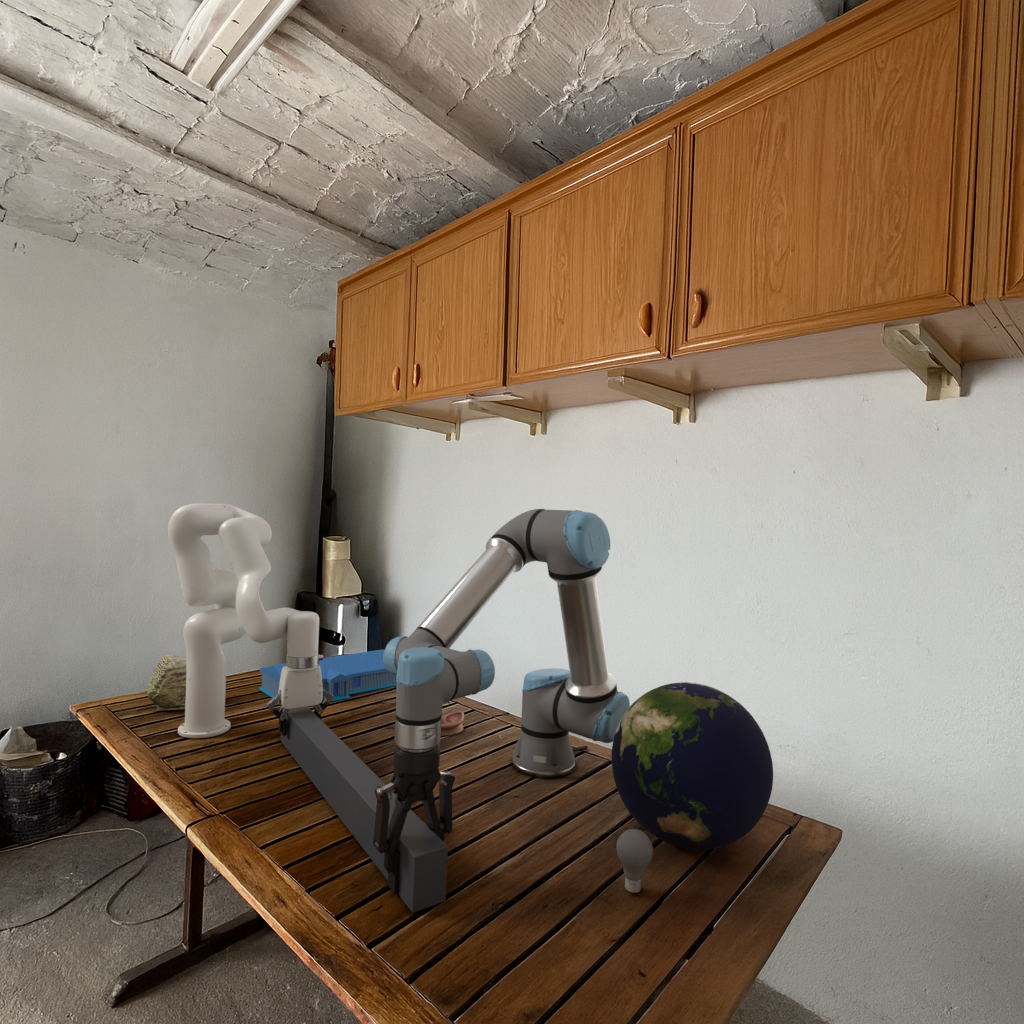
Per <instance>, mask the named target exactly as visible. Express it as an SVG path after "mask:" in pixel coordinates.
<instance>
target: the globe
mask: <svg viewBox="0 0 1024 1024" xmlns="http://www.w3.org/2000/svg"><path fill="white" fill-rule="evenodd" d="M611 745H612V746H611V757H610V758H611V771H612V776H613V780H614V784H615V787H616V790H617V792H618V795H619V797H620V799H621V801H622V803H623V804H624V806H625V808H626V809H627V811H628V813H629V815H631V816H632V817H633V819H634V820H635V821H636V822H637V823H638V824H639V825H640V826H641V827H642V828H643V829H644V830H645V831H647V832H648V833H649V834H651V835H652V836H653V837H655V838H656V839H659V840H660V841H662V842H664V843H666V844H668V845H671V846H673V847H676V848H680V849H683V850H684V849H685V850H690V851H691V850H692V851H710V850H716V849H720V848H723V847H726V846H729V845H731V844H733V843H735V842H737V841H739V840H740V839H742V838H744V837H745V836H746V835H747V834H748V833H750V832H751V831H752V830H753V828H755V826H756V825H757V824H758V822H759V821H760V820H761V819H762V817H763V815H764V813H765V812H766V810H767V807H768V805H769V803H770V799H771V796H772V791H773V786H774V785H773V784H774V767H773V766H774V763H773V759H772V753H771V749H770V746H769V743H768V741H767V738H766V736H765V734H764V732H763V730H762V728H761V727H760V725H759V724H758V722H757V721H756V720H755V718H754V717H753V715H752V714H751V713H750V711H748V709H747V708H746V707H745V706H744V705H742V704H741V702H739V701H737V700H736V699H735V698H733V697H732V696H730V695H729V694H728V693H725V692H723V691H721V690H720V689H718V688H715V687H712V686H709V685H705V684H702V683H697V682H692V681H691V682H690V681H685V682H682V681H681V682H673V683H667V684H663V685H660V686H657V687H654V688H652V689H650V690H649V691H647V692H645V693H644V694H642V695H640V697H639V698H637V699H636V700H635V701H633V702H632V704H630V707H629V708H628V710H627V711H626V712H625V714H624V715H623V717H622V718H621V720H620V722H619V724H618V727H617V729H616V732H615V736H614V739H613V742H612V744H611Z"/></svg>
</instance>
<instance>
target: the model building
mask: <svg viewBox="0 0 1024 1024" xmlns="http://www.w3.org/2000/svg"><path fill="white" fill-rule="evenodd" d="M384 651H385V648H384V649H376V650H368V651H363V652H356V653H349V654H342V655H341V654H340V655H335V656H329V657H328V656H327V657H323V660H320V661H319V663H318V664H319V665H320V669H321V675H322V688H323V689H324V690H326V691H327V692H329V693H330V694H332V695H333V699H332V700H331V702H335V701H341V700H346V699H347V700H348V699H350V698H351V695H353V694H359V693H364V692H365V693H366V692H369V691H373V690H381V689H385V688H390V687H391V688H392V687H395V686H396V687H397V680H396V676H395V675H393V674H391V673H390V672H388V670H386V667H385V665H384V662H383V655H384ZM285 666H286V662H285V663H278V664H272V665H268V666H264V667H263V666H262V667H260V668H259V672H260V673H261V686H260V687H258V690H260V691H261V692H262V693H264V694H265V695H267V696H268V697H270V698H271V699H273V698H274V697H275V696H276V695H277V694H278V691H279V683H280V677H281V672H282V668H283V667H285ZM324 699H325V696H324V695H323V697H322V701H324Z"/></svg>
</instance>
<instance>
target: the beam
mask: <svg viewBox="0 0 1024 1024" xmlns="http://www.w3.org/2000/svg"><path fill="white" fill-rule="evenodd" d="M313 712H314V711H313V710H312V709H311V708H310V707H304V708H297V709H290V710H289V712H288V714H287V715H286V718H285V719H286V720H287V734H286V736H283V735H282V734H281V733H280V742H281V743H282V744H283V746H284V747H285V748H286V750H287V751H288V753H289V754H290V755H291V756H292V758H293V759H294V760H295V762H296V763H297V764H298V766H299V767H300V768H301V769H302V771H303V773H304V774H305V775H306V776H307V778H308V779H309V780H310V782H311V783H312V784H313V785H314V786H315V787H316V789H317V790H318V791H319V793H320V794H321V796H322V797H323V799H325V801H326V803H328V805H329V806H330V807H331V809H332V810H333V812H334V813H335V814H336V815H337V816H338V818H339V820H340V821H341V822H342V823H343V824H344V826H345V827H346V828H347V830H348V831H349V832H350V834H351V835H352V836H353V838H354V839H355V840H356V841H357V843H358V844H359V846H361V848H362V849H363V850H364V852H365V853H366V855H367V856H368V857H369V859H371V861H372V862H373V864H374V865H375V866H376V867H377V869H378V870H379V871H380V873H381V874H382V875H383V876H384V878H385V879H386V880H387V881H388V872H387V871H386V870H385V868H384V853H379V851H378V850H377V849H376V848H375V846H374V845H373V839H374V829H375V818H376V807H377V798H376V794H375V788H376V787H377V786H381V787H384V786H386V785H387V784H386V783H385V782H384V781H383V780H382V779H381V778H380V777H379V776H378V775H377V774H376V773H375V772H374V771H373V770H372V769H371V768H370V767H369V766H368V765H367V764H366V763H365V762H364V761H363V760H362V759H361V757H359V756H358V755H356V753H355V752H354V751H353V750H352V749H351V748H350V747H349V746H348V745H347V744H346V743H345V742H344V741H343V740H342V739H341V738H340V737H339V736H338V735H337V734H336V733H335V732H333V730H331V728H330V727H329V726H328V725H327V724H326V723H325V722H323V720H322V719H321V720H320V719H319V718H318V717H317V716H316V715H315V714H314V713H313ZM396 796H397V793H396V792H395V791H393V792H392V799H391V800H389V802H390V812H389V822H388V827H389V824H390V821H391V817H392V814H393V811H394V808H395V799H396ZM397 849H398V850H399V852H400V878H399V893H397V895H398V896H399V897H400V899H401V900H402V902H403V903H404V904H405V906H407V908H408V909H409V910H410V912H411V913H412V914H414V913H417V912H419V911H422V910H425V909H428V908H430V907H433V906H435V905H438V904H441V903H444V902H446V900H447V882H448V881H447V879H448V859H449V858H448V856H449V855H448V854H449V846H448V845H447V844H446V843H445V842H444V841H442V840H441V839H440V838H439V837H438V836H437V835H436V834H435V833H434V832H433V831H432V830H431V829H430V828H429V826H428V824H426V823H425V822H424V821H423V820H422V819H421V818H420V817H419V816H418V815H417V814H416V813H415V812H414V811H413V810H412V808H411V809H410V811H408V813H407V816H406V820H405V823H404V826H403V829H402V833H401V836H400V839H399V843H398V846H397Z"/></svg>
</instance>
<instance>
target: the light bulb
mask: <svg viewBox="0 0 1024 1024" xmlns="http://www.w3.org/2000/svg"><path fill="white" fill-rule="evenodd" d="M615 849H616V854H617V857H618V859H619V861H620V863H621V865H622V867H623V873H624V874H623V875H624V876H625V878H624V888H625V890H627V891H628V892H630V893H634V894H635V893H639V892H640V891H641V889H642V887H641V886H642V879H643V877H644V875H645V871H646V868H647V867H648V866H649V864H650V863H651V861H652V859H653V855H654V847H653V843H652V841H651V838H649V836H648V835H647V834H646V833H645V832H643V831H642V830H641V829H636V828H629V829H627V830H625V831H623V832H622V833H621V834H620V835H619V837H618V839H617V841H616V847H615Z"/></svg>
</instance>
